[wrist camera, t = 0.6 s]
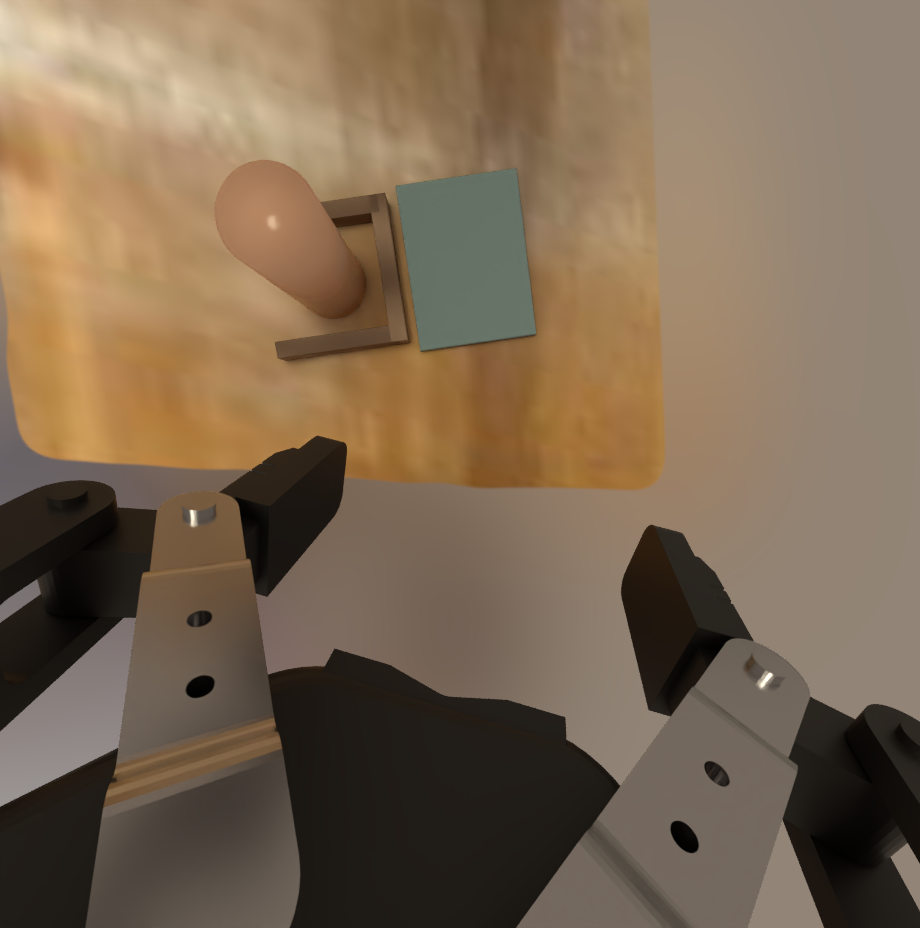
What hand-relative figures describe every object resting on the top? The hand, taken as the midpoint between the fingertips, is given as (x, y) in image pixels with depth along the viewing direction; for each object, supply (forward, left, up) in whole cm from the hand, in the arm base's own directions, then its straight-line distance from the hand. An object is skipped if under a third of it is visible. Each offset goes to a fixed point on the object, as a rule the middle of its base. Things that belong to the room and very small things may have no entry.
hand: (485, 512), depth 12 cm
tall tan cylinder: (-14, -8, -24) cm, 29 cm away
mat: (-14, +2, -24) cm, 28 cm away
